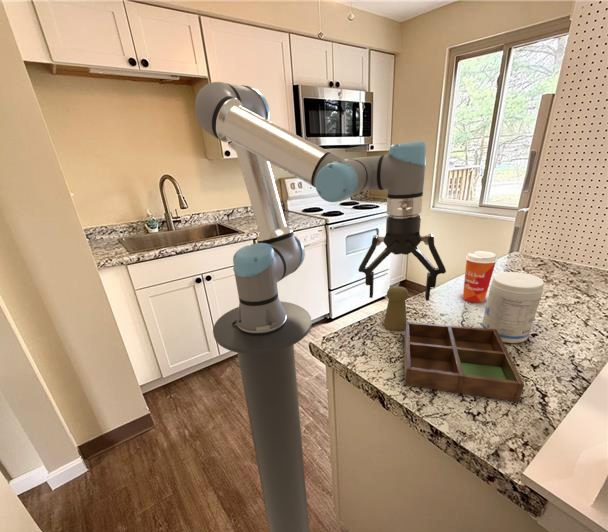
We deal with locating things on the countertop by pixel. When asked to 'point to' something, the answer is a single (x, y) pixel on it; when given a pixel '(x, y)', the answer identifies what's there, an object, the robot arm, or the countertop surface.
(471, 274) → the paper cup
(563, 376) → the countertop surface
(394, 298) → the cork
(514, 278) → the supplement tub
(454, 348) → the grid
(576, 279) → the countertop surface
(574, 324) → the countertop surface
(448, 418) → the countertop surface
